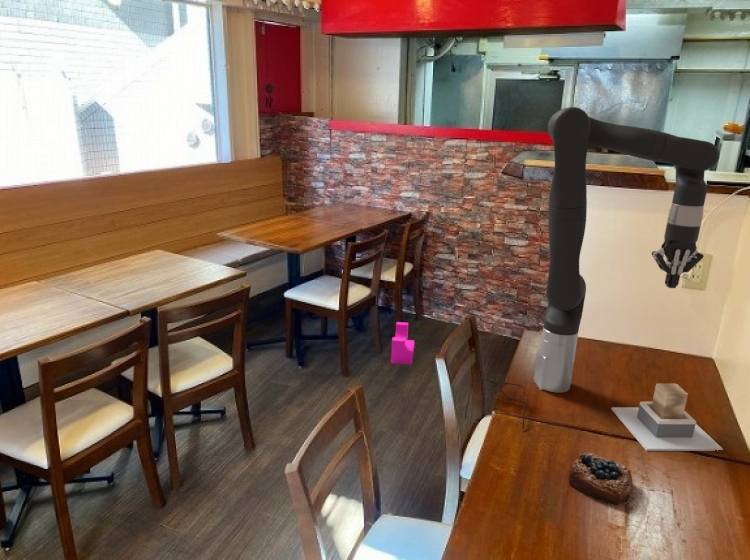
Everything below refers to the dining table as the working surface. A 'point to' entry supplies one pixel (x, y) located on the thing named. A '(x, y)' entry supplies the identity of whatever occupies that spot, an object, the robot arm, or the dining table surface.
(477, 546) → the dining table surface
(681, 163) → the robot arm
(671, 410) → the maple block
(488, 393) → the glasses
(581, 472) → the pastry
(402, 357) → the toy block
